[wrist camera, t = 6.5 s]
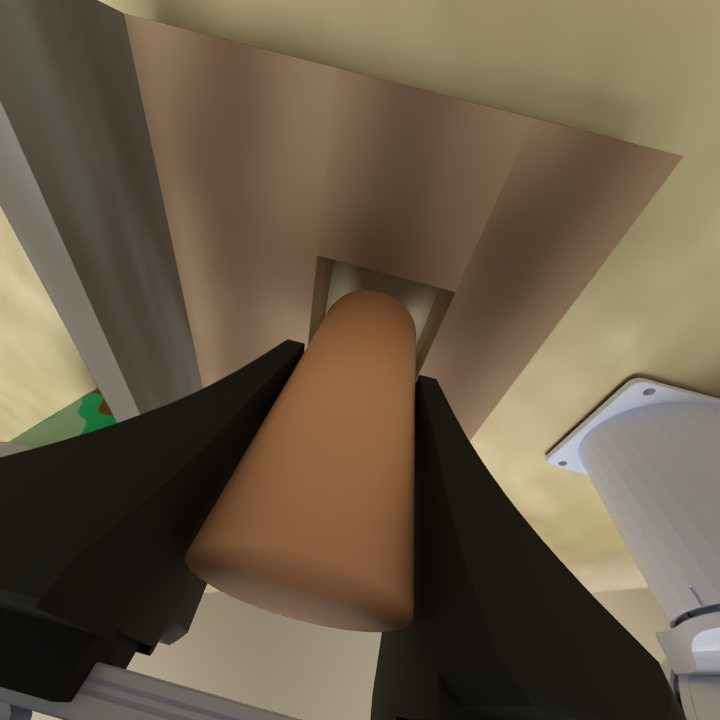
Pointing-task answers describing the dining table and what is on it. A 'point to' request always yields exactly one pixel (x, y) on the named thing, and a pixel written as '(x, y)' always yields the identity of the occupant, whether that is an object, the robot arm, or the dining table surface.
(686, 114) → the dining table surface
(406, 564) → the peg
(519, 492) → the dining table surface
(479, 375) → the socket block
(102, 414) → the food container
